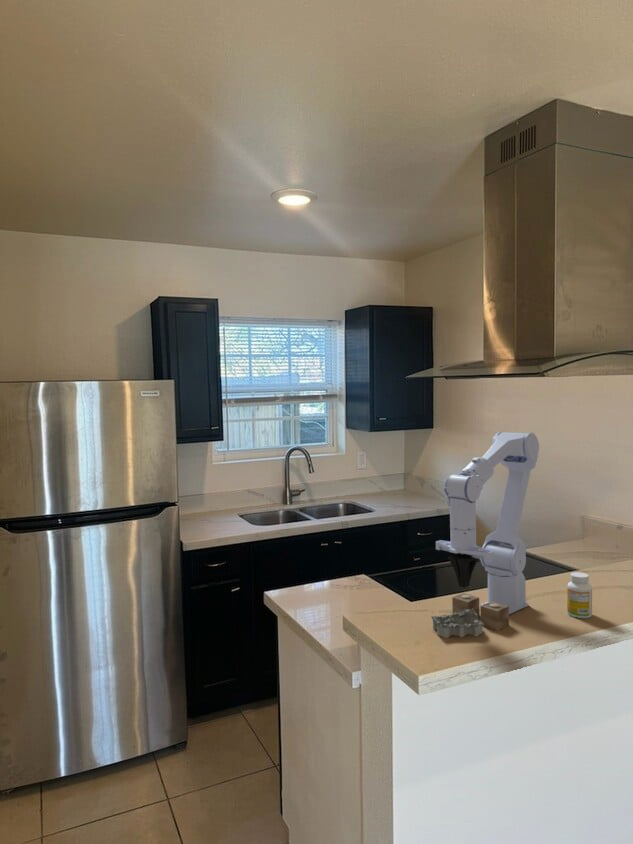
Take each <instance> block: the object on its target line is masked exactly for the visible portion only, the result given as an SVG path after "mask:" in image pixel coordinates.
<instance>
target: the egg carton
mask: <svg viewBox="0 0 633 844" xmlns="http://www.w3.org/2000/svg"><path fill="white" fill-rule="evenodd" d="M431 619H432V630H433V631H436V635H437V636H438V637H443V638H445V639H446V638H448V639H449V638H450V637H451V636H456V637H457V636H458V637H459V638H464V637H465V636H466V635H471V636H474V637H479V636H480V635H481V634H483V625H484V624H483V622H481V619H479V616H477V614H476V612H475V611H474V609H464V610H461V612H460V613H454V614H453V613H451V614H442V615H439V616H437V615H435V616H434V615H431Z"/></svg>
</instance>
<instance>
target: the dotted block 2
mask: <svg viewBox="0 0 633 844" xmlns="http://www.w3.org/2000/svg"><path fill="white" fill-rule="evenodd" d="M479 610H480V620H481V622H483V624H484V625H482V627H486V628H489V629H492V630H495V631H500V630H502V629H504V628H506V627H508V626H510V619H509V617H510V614H509V606H506V605H503V604H499V603H496V602H492V601H491V602H489V603H487V604H484V605H482V606H481V605H479Z"/></svg>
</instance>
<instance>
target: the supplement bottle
mask: <svg viewBox="0 0 633 844" xmlns="http://www.w3.org/2000/svg"><path fill="white" fill-rule="evenodd" d="M589 577H590V575H589V574H587V573H585V572H579V571H578V572H577V571H576V572H575V571H574V572H571V573H570V581H569V582H568V583H567V587H566V588H567V589H566V590H567V594H566V595H567V605H566V606H567V609H566V610H567V614H568V615H569V616H570V617H573V618H576V617H577V619H589V618H591V617H592V616H593V587H592V585H591V584H590V583H589V582H590V578H589Z"/></svg>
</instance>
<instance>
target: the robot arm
mask: <svg viewBox="0 0 633 844" xmlns="http://www.w3.org/2000/svg"><path fill="white" fill-rule="evenodd" d="M539 452H540V443H539V439H538V437H537V435H536V434H535V433H534V432H506V431H505V432H504V431H498V432H497V433H495V435H494V436H493V437H492V443H491V446H490V447H489V448H488V449H487V451H486V452H485V453H484V454H483V455H482V456H481V457H480V456H479V457H478V456H477V457H476V456H475V457H473V458H472V459H471V460H470V462H469V463H468V464H467V465H466V466H465V467H464V468H463V469H462V470H461V471H460V472H459V473H458V474H452V475H450V476H449V477H448V478H447V479H446V480H445V484H444V486H443V493H444V496H445V497H446V502H447V503H446V505H447V507H448V508H449V522H450V523H449V529H450V530H449V531H450V534H449V535H450V541H449V540H442V539H439V540H436V541H435V551H436V550H437V551H445V552H448V553H451V554H450V555H449V556H448V557H447V558H448V561H449V563H450V564H451V566H452V567H453V570H454V573H455V576H456V579H457V583H458V586H459V587H460V588H467V587H469V586H470V583H471V578H472V574H473V572H474V569H475V567H476V565H477V563H478V561H479V560H480V563H481V565H482V567H484V570H485V571H486V572H487V601H486V602H483V603H481V604H480V606H482V605H484V604H487V603H489V602H491V601H492V602H496V603H499V604H503V605H506V606H509V615H510V614H511V615H512V614H513V613H515V612H517V611H520V610H521V609H524V608H526V607H529V606H530V603H528V602H526V601H527V600H526V599H527V597H526V596H527V595H526V593H527V588H526V587H527V586H526V585H527V584H526V577H525V576H524V573H523V571H524V570H525V567H526V564H527V557H526V555H527V554H526V553H527V544H526V543H525V542H524V541H523V540H522V538H521V537H519V529H520V525H521V519H522V514H523V511H524V505H525V501H526V495H527V490H528V487H529V481H530V475H531V471H532V470H533V469H535V468H536V465H537V461H538V457H539V456H538V455H539ZM499 464H501V465H502V466H503V467H506V468H507V470H508V474H507V475H508V476H507V480H506V485H505V488H504V494H503V498H502V503H501V508H500V512H499V516H498V521H497V525H496V530H495V531H492V532H491V533H489V534H487V535H486V536H485V540H484V542H483V544H482V547H481V546H479V545H477V514H476V513H477V510H476V509H477V508H476V507H477V506H476V505H477V504H476V503H477V502H476V501H478V500H479V498H480V496H481V494H482V493H481V492H482V490H483V488H484V485H485V484H486V483H487V482H488V481H489V479H491V478H492V477H493V476H494V473H495V472H494V468H495V467H496V466H498V465H499Z"/></svg>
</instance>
